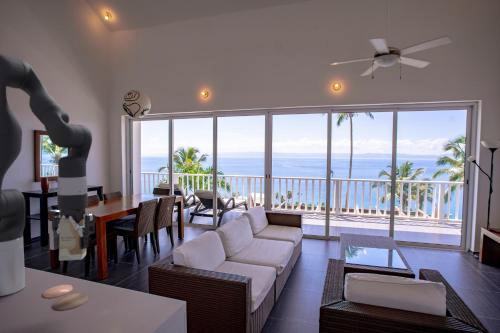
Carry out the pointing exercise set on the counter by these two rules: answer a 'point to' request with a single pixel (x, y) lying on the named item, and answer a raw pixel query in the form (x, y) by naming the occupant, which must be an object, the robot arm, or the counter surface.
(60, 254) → the skincare box
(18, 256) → the robot arm
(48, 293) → the peach glossy dome
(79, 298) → the walnut coaster
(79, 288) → the counter surface
